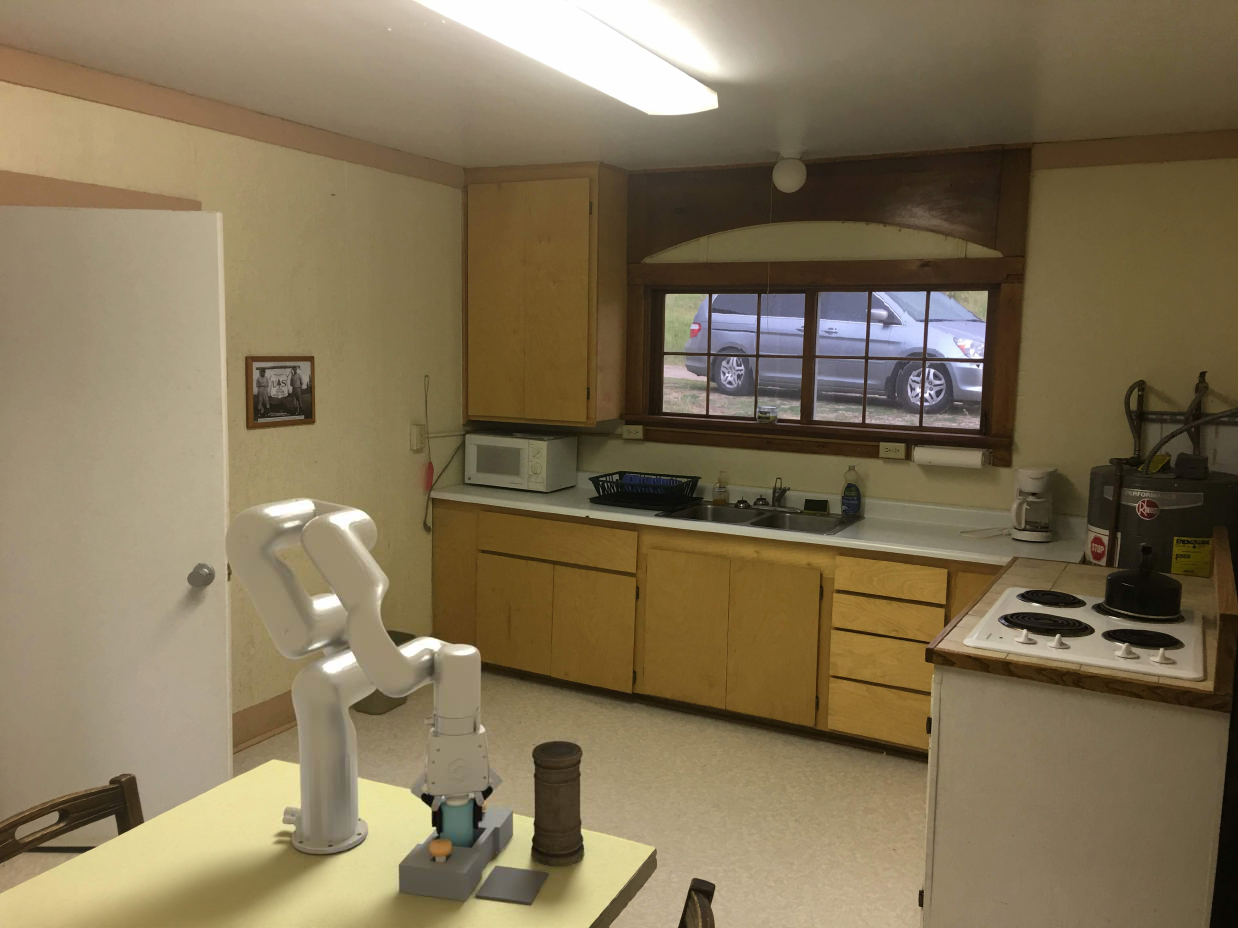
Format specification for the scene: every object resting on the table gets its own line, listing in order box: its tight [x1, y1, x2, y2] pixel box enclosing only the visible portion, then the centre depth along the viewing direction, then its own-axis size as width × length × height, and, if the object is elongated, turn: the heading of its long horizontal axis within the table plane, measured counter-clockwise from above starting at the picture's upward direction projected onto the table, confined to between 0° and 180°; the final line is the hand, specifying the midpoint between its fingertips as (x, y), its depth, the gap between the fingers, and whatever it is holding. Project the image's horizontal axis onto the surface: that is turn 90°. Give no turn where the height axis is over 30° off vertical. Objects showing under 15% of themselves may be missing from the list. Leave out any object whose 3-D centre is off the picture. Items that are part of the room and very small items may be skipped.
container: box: [530, 740, 585, 867], centre depth 157 cm, size 9×9×18 cm
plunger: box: [430, 839, 452, 863], centre depth 147 cm, size 3×3×6 cm
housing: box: [398, 806, 514, 902], centre depth 154 cm, size 11×22×4 cm, turn 167°
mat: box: [474, 865, 549, 906], centre depth 147 cm, size 9×9×1 cm
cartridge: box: [440, 793, 474, 848], centre depth 154 cm, size 5×5×11 cm
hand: (456, 826), depth 154 cm, fingers closed on cartridge, 5 cm apart
